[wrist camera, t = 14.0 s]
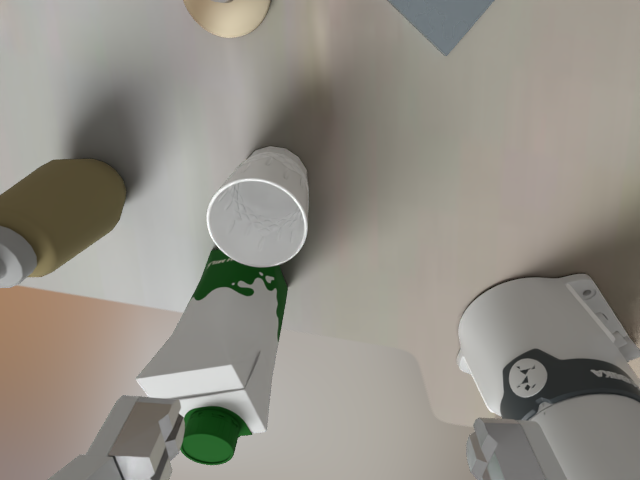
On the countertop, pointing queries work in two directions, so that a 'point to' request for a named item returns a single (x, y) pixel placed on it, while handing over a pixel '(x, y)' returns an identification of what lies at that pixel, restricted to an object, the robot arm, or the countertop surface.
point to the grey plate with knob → (442, 19)
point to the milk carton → (222, 357)
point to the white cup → (262, 209)
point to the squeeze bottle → (56, 216)
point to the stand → (228, 15)
